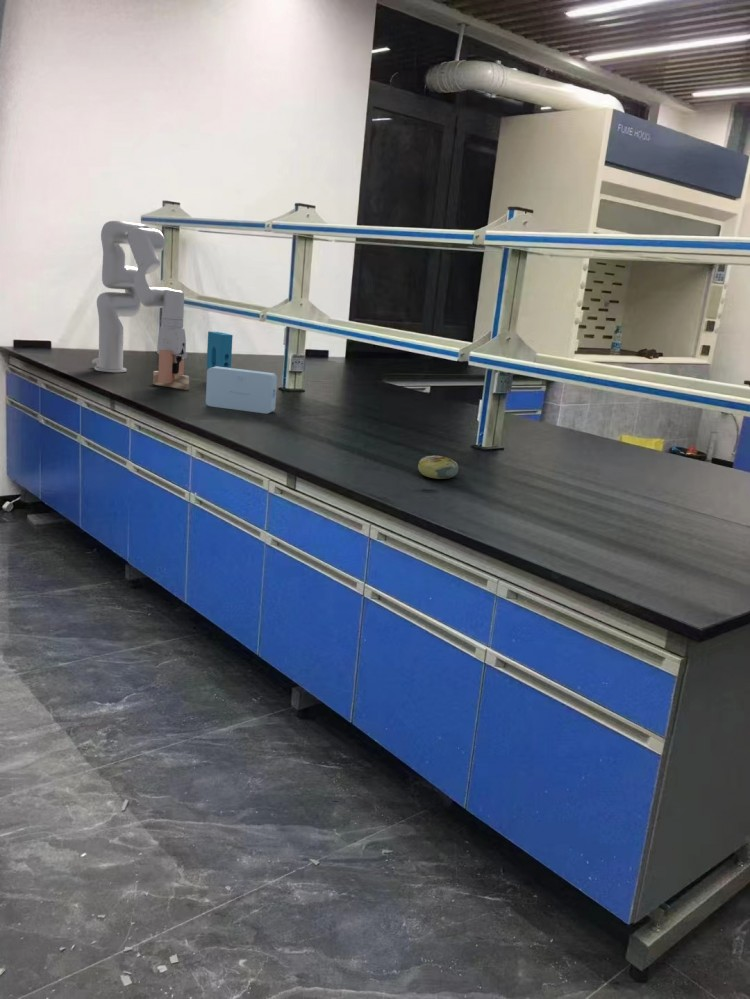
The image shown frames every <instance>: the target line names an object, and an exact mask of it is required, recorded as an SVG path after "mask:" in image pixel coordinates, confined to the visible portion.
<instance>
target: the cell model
mask: <svg viewBox="0 0 750 999" xmlns="http://www.w3.org/2000/svg"><path fill="white" fill-rule="evenodd" d="M417 469H418V471H419V473H420V474H421V475H423V476H424V477H426V478H427V477H428V478H431V479H437V480H443V479H451V478H452V477H455V476H456V475H457V474H458V472H459V464H458V463H457V461H455V460H454V459H452V458H450V457H447V456H442V455H426V456H424V457H421V459H420V460H419V461H418V465H417Z"/></svg>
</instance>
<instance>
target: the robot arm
mask: <svg viewBox="0 0 750 999" xmlns="http://www.w3.org/2000/svg"><path fill="white" fill-rule="evenodd" d="M164 236H165V235H164V234H163V233H162V232H161V231H160V230H158V229H157V228H153V227H152V226H149V225H146V224H143V223H137V222H129V221H125V220H109V221H107V222H104V224H103V226H102V228H101V233H100V241H101V246H102V267H101V270H102V271H101V278H102V279H101V281H102V284H103V286H104V287H105V288H107V289H111V290H112V289H113V290H124V292H115V291H105V292H102V293H100V294H99V295H98V296H97V299H96V308H97V314H98V315H97V316H98V357H97V358H93V359H92V360H91V363H92V364H96V365H95V366H94V370H95V371H97V372H102V373H103V372H105V373H125V372H127V370H128V369H127V368H126V367H124V326H123V324H122V321H121V320H120V318H119V317H124V318H125V317H126V318H127V317H128V318H129V317H131V318H132V317H136V316H138V314H139V313H140V311H141V305H142V306H144V307H147V308H158V309H159V308H160V309H162V318H161V319H160V323H161V324H162V325H161V326H160V328H159V331H158V337H157V345H156V346H157V349H156V354H157V355H159V350H167V351H171V355H174V363H173V368H172V373H173V374H175V373H178V372H179V363H180V362H181V361H182V360H183V359H184V360H185V359H186V358H187V357H188V353H187V338H186V330H185V328H184V312H185V310H184V308H185V293H184V292H183V291H182V290H177V289H173V288H170V287H159V286H149V284H148V280H147V279H146V275H148V274H151V273H153V272H155V271H156V270H158V268H159V267H160V265H161V261H160V258H159V256H158V253H160V252H162V251H163V250H164V249H165V246H166V238H165V237H164ZM121 244H122V245H129V248H130V250H131V253H132V255H133V258H134V260H135V262H136V263H135V264H136V265H137V267H136V266H133V265H126V253H125V251H124V248H123V247H122V245H121ZM180 354H181V356H180Z"/></svg>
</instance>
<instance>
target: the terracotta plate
mask: <svg viewBox="0 0 750 999" xmlns="http://www.w3.org/2000/svg"><path fill="white" fill-rule="evenodd" d="M180 356H181V354H180ZM173 363H174V355H171V351H167V350H159V354H158V371H159V372H158V383H164V384H166V383H172V381H175V375H176V374H179V375H185V374H184V372H185V358H184V359H183V360H182V361H181V362H180V363H179V372H178V373H175V374H173V373H172V368H173Z"/></svg>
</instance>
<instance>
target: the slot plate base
mask: <svg viewBox="0 0 750 999" xmlns="http://www.w3.org/2000/svg"><path fill="white" fill-rule="evenodd" d="M158 372H159V370H153V376H152V377H153V378H152V381H153V382H152V385H155V386H160V387H168V388H174V389H180V390H186V391H187V390H189V389H190V375H185V374H184V375H179V374H176V375H175V381H172V383H166V384H164V383H158Z"/></svg>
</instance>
